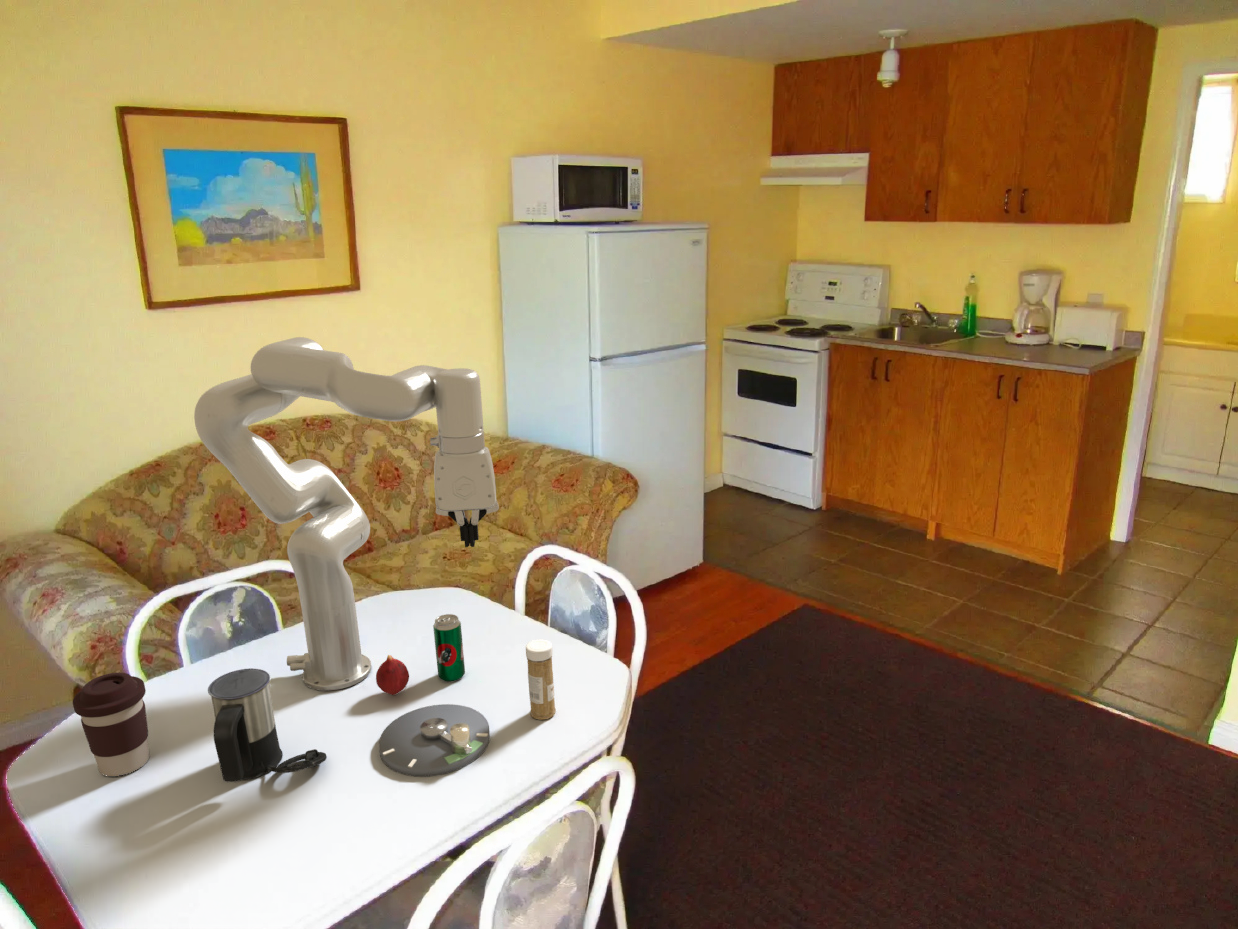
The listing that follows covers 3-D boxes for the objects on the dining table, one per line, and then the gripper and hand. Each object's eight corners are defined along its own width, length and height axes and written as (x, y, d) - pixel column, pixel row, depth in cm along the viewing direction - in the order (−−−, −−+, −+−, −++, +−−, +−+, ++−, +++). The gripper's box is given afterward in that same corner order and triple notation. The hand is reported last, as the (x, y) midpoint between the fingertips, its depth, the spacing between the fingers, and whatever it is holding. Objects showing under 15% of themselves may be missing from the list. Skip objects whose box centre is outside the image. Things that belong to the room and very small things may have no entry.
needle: (415, 733, 143) (413, 714, 142) (437, 721, 147) (435, 702, 145) (458, 759, 136) (456, 739, 135) (480, 746, 139) (478, 727, 138)
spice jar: (560, 715, 151) (557, 646, 147) (537, 724, 148) (533, 654, 145) (547, 703, 155) (544, 636, 151) (525, 711, 152) (520, 643, 148)
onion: (417, 690, 160) (413, 651, 158) (397, 706, 155) (392, 666, 153) (392, 683, 162) (387, 645, 160) (371, 699, 157) (366, 660, 155)
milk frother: (222, 754, 143) (207, 674, 138) (322, 730, 148) (311, 653, 144) (220, 807, 130) (204, 721, 126) (329, 779, 136) (317, 696, 131)
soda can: (469, 677, 164) (464, 620, 160) (444, 686, 161) (439, 628, 157) (458, 666, 168) (453, 610, 164) (434, 674, 165) (428, 618, 161)
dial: (371, 781, 135) (370, 772, 134) (388, 716, 152) (387, 707, 151) (487, 771, 136) (486, 762, 136) (491, 708, 154) (491, 699, 153)
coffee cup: (88, 791, 134) (67, 707, 130) (91, 757, 143) (72, 677, 138) (159, 771, 138) (141, 689, 134) (158, 739, 147) (142, 661, 143)
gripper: (414, 451, 141) (424, 555, 146) (506, 446, 142) (513, 549, 148) (419, 439, 148) (429, 539, 153) (507, 435, 149) (513, 533, 155)
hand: (470, 544), depth 151 cm, fingers closed
